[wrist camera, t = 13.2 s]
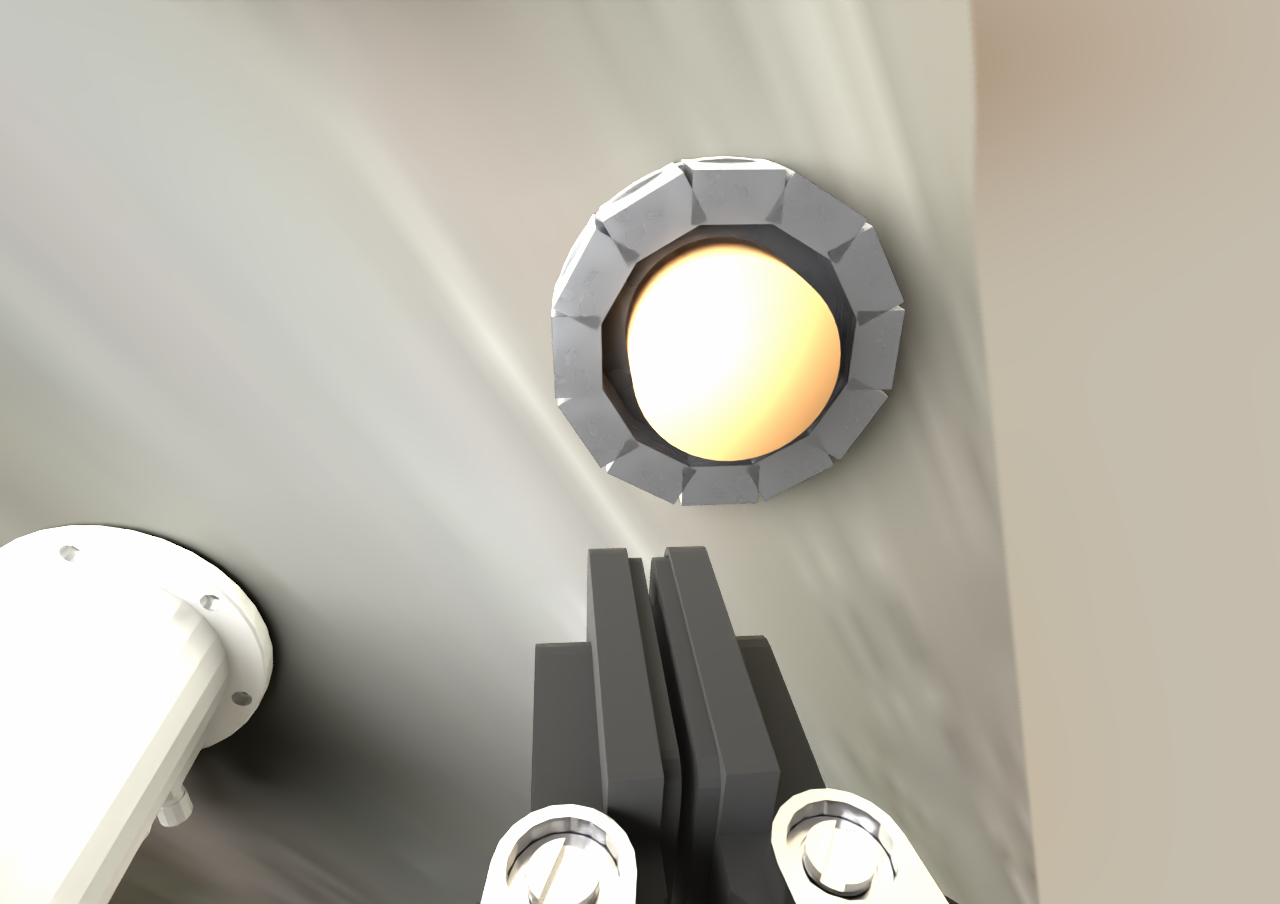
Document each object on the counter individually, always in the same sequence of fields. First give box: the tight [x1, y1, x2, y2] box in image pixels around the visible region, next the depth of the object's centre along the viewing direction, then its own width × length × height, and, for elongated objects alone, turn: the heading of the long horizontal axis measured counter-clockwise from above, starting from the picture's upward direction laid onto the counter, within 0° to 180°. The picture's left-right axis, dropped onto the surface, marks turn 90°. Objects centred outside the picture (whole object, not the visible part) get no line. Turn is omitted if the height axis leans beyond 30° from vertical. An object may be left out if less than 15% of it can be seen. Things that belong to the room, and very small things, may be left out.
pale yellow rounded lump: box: [625, 237, 841, 461], centre depth 27 cm, size 7×7×4 cm
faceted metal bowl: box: [551, 156, 905, 506], centre depth 28 cm, size 13×13×3 cm
